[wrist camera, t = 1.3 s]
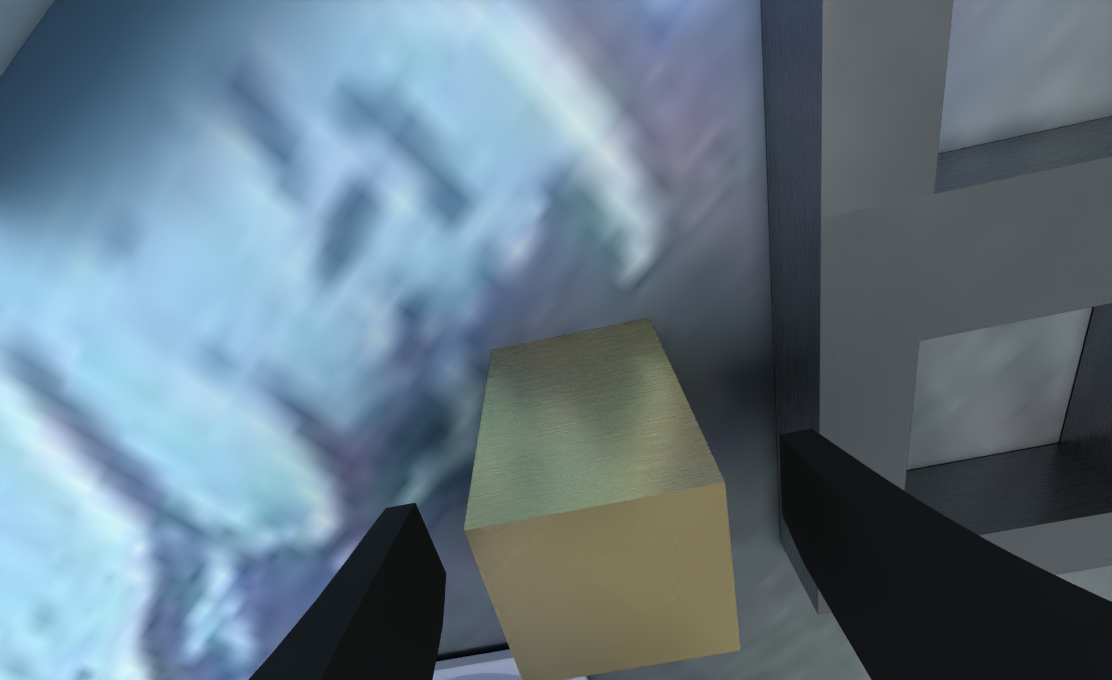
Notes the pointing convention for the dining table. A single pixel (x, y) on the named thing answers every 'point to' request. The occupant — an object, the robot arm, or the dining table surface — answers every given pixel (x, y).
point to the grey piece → (18, 25)
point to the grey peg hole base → (928, 268)
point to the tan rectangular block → (599, 508)
